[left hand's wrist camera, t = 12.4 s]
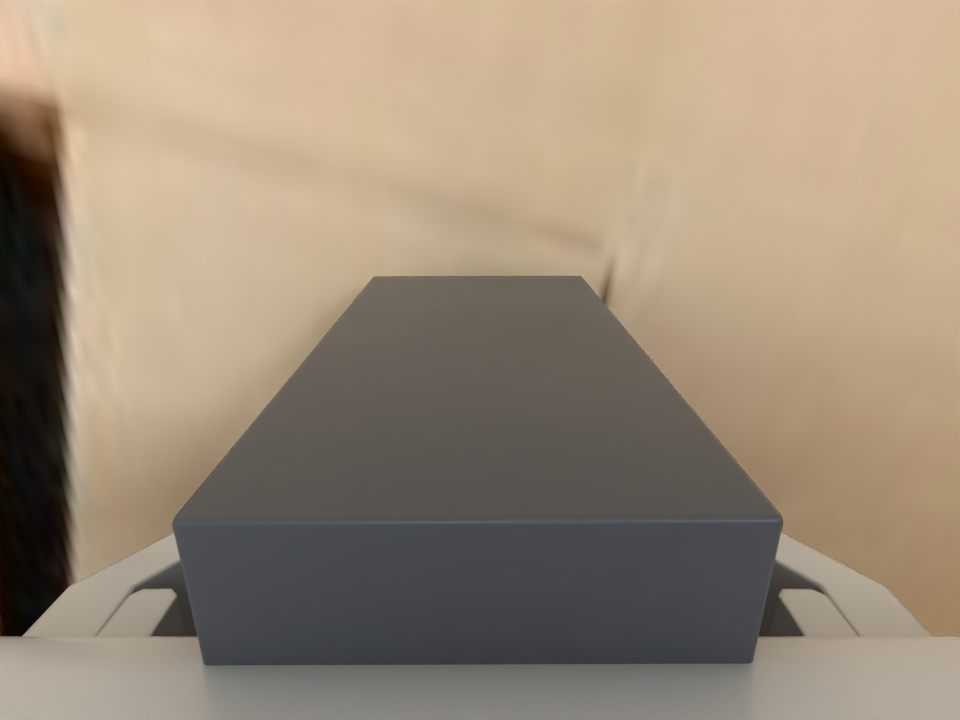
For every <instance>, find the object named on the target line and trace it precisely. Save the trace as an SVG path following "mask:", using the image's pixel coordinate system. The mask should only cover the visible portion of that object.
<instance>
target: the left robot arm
mask: <svg viewBox="0 0 960 720" xmlns="http://www.w3.org/2000/svg"><path fill="white" fill-rule="evenodd" d="M0 720H960V636H932V635H931V634H930V633H929V632H928V631H927V630H926V629H925V627H924V626H923V625H922V624H921V623H920V622H919V621H918V620H917V619H916V618H915V617H914V616H913V615H912V613H911V612H910V611H909V610H908V609H907V608H906V607H905V606H904V605H903V604H902V603H901V602H900V600H899V599H898V598H897V597H896V596H895V595H894V594H893V593H892V592H891V591H890V590H889V589H888V588H887V587H886V586H884V585H882V584H880V583H878V582H876V581H874V580H872V579H870V578H868V577H866V576H864V575H862V574H861V573H859V572H857V571H855V570H853V569H851V568H849V567H847V566H845V565H843V564H841V563H839V562H837V561H835V560H833V559H832V558H830V557H828V556H826V555H824V554H822V553H820V552H818V551H816V550H814V549H812V548H810V547H808V546H806V545H804V544H803V543H801V542H799V541H797V540H795V539H793V538H791V537H789V536H787V535H785V534H783V533H781V535H780V540H779V544H778V549H777V553H776V558H775V563H774V567H773V572H772V576H771V581H770V585H769V590H768V595H767V599H766V604H765V608H764V613H763V617H762V622H761V627H760V631H759V636H758V640H757V645H756V649H755V654H754V659H753V662H752V663H749V664H484V665H205V664H204V663H203V659H202V654H201V650H200V645H199V641H198V637H197V632H196V628H195V623H194V619H193V614H192V610H191V606H190V601H189V597H188V592H187V588H186V583H185V579H184V575H183V570H182V566H181V561H180V557H179V552H178V548H177V544H176V539H175V535H174V533H173V534H171V535H169V536H167V537H165V538H163V539H161V540H159V541H157V542H155V543H153V544H151V545H149V546H147V547H145V548H143V549H141V550H139V551H138V552H136V553H134V554H132V555H130V556H128V557H126V558H124V559H122V560H120V561H118V562H116V563H114V564H112V565H110V566H108V567H106V568H104V569H102V570H100V571H98V572H97V573H95V574H93V575H91V576H89V577H87V578H85V579H83V580H81V581H79V582H77V583H75V584H73V585H71V586H69V587H68V588H67V589H66V590H65V591H64V593H63V594H62V595H61V596H60V597H59V598H58V599H57V600H56V601H55V602H54V603H53V604H52V605H51V606H50V607H49V608H48V609H47V611H46V612H45V613H44V614H43V615H42V616H41V617H40V618H39V619H38V620H37V621H36V622H35V623H34V624H33V625H32V626H31V628H30V629H29V630H28V631H27V632H26V633H25V634H24V635H23V636H0Z"/></svg>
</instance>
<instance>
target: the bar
mask: <svg viewBox="0 0 960 720" xmlns="http://www.w3.org/2000/svg"><path fill="white" fill-rule="evenodd" d="M782 526H783V519H782V516H781V515H780V513H779V512H778V511H777V510H776V509H775V507H774V506H773V505H772V504H771V503H770V501H769V500H768V499H767V498H766V497H765V495H764V494H763V493H762V492H761V491H760V489H759V488H758V487H757V486H756V485H755V483H754V482H753V481H752V480H751V479H750V477H749V476H748V475H747V474H746V473H745V471H744V470H743V469H742V468H741V467H740V466H739V464H738V463H737V462H736V461H735V460H734V458H733V457H732V456H731V455H730V454H729V452H728V451H727V450H726V449H725V448H724V446H723V445H722V444H721V443H720V442H719V440H718V439H717V438H716V437H715V436H714V434H713V433H712V432H711V431H710V430H709V428H708V427H707V426H706V425H705V424H704V422H703V421H702V420H701V419H700V418H699V417H698V415H697V414H696V413H695V412H694V411H693V409H692V408H691V407H690V406H689V405H688V403H687V402H686V401H685V400H684V399H683V397H682V396H681V395H680V394H679V393H678V391H677V390H676V389H675V388H674V387H673V385H672V384H671V383H670V382H669V381H668V379H667V378H666V377H665V376H664V375H663V373H662V372H661V371H660V370H659V369H658V367H657V366H656V365H655V364H654V363H653V362H652V360H651V359H650V358H649V357H648V356H647V354H646V353H645V352H644V351H643V350H642V348H641V347H640V346H639V345H638V344H637V342H636V341H635V340H634V339H633V338H632V336H631V335H630V334H629V333H628V332H627V330H626V329H625V328H624V327H623V326H622V324H621V323H620V322H619V321H618V320H617V318H616V317H615V316H614V315H613V314H612V313H611V311H610V310H609V309H608V308H607V307H606V305H605V304H604V303H603V302H602V301H601V299H600V298H599V297H598V296H597V295H596V293H595V292H594V291H593V290H592V289H591V287H590V286H589V285H588V284H587V283H586V281H585V280H584V279H583V278H582V277H581V276H399V277H373V278H372V279H371V281H370V282H369V283H368V284H367V286H366V287H365V288H364V289H363V290H362V292H361V293H360V294H359V295H358V296H357V298H356V299H355V300H354V301H353V302H352V304H351V305H350V306H349V307H348V309H347V310H346V311H345V312H344V313H343V315H342V316H341V317H340V318H339V319H338V321H337V322H336V323H335V324H334V325H333V327H332V328H331V329H330V330H329V331H328V333H327V334H326V335H325V336H324V338H323V339H322V340H321V341H320V342H319V344H318V345H317V346H316V347H315V348H314V350H313V351H312V352H311V353H310V354H309V356H308V357H307V358H306V359H305V360H304V362H303V363H302V364H301V365H300V367H299V368H298V369H297V370H296V371H295V373H294V374H293V375H292V376H291V377H290V379H289V380H288V381H287V382H286V383H285V385H284V386H283V387H282V388H281V390H280V391H279V392H278V393H277V394H276V396H275V397H274V398H273V399H272V400H271V402H270V403H269V404H268V405H267V406H266V408H265V409H264V410H263V411H262V412H261V414H260V415H259V416H258V417H257V419H256V420H255V421H254V422H253V423H252V425H251V426H250V427H249V428H248V429H247V431H246V432H245V433H244V434H243V435H242V437H241V438H240V439H239V440H238V442H237V443H236V444H235V445H234V446H233V448H232V449H231V450H230V451H229V452H228V454H227V455H226V456H225V457H224V458H223V460H222V461H221V462H220V463H219V464H218V466H217V467H216V468H215V469H214V471H213V472H212V473H211V474H210V475H209V477H208V478H207V479H206V480H205V481H204V483H203V484H202V485H201V486H200V487H199V489H198V490H197V491H196V492H195V493H194V495H193V496H192V497H191V498H190V500H189V501H188V502H187V503H186V504H185V506H184V507H183V508H182V509H181V510H180V512H179V513H178V514H177V515H176V516H175V518H174V520H173V530H174V535H175V539H176V544H177V548H178V552H179V557H180V561H181V566H182V570H183V575H184V579H185V583H186V588H187V592H188V597H189V601H190V606H191V610H192V614H193V619H194V623H195V628H196V632H197V637H198V641H199V645H200V650H201V654H202V659H203V663H204V664H205V665H484V664H749V663H752V662H753V659H754V654H755V649H756V645H757V640H758V636H759V631H760V627H761V622H762V617H763V613H764V608H765V604H766V599H767V595H768V590H769V585H770V581H771V576H772V572H773V567H774V563H775V558H776V553H777V549H778V544H779V540H780V535H781V531H782Z"/></svg>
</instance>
